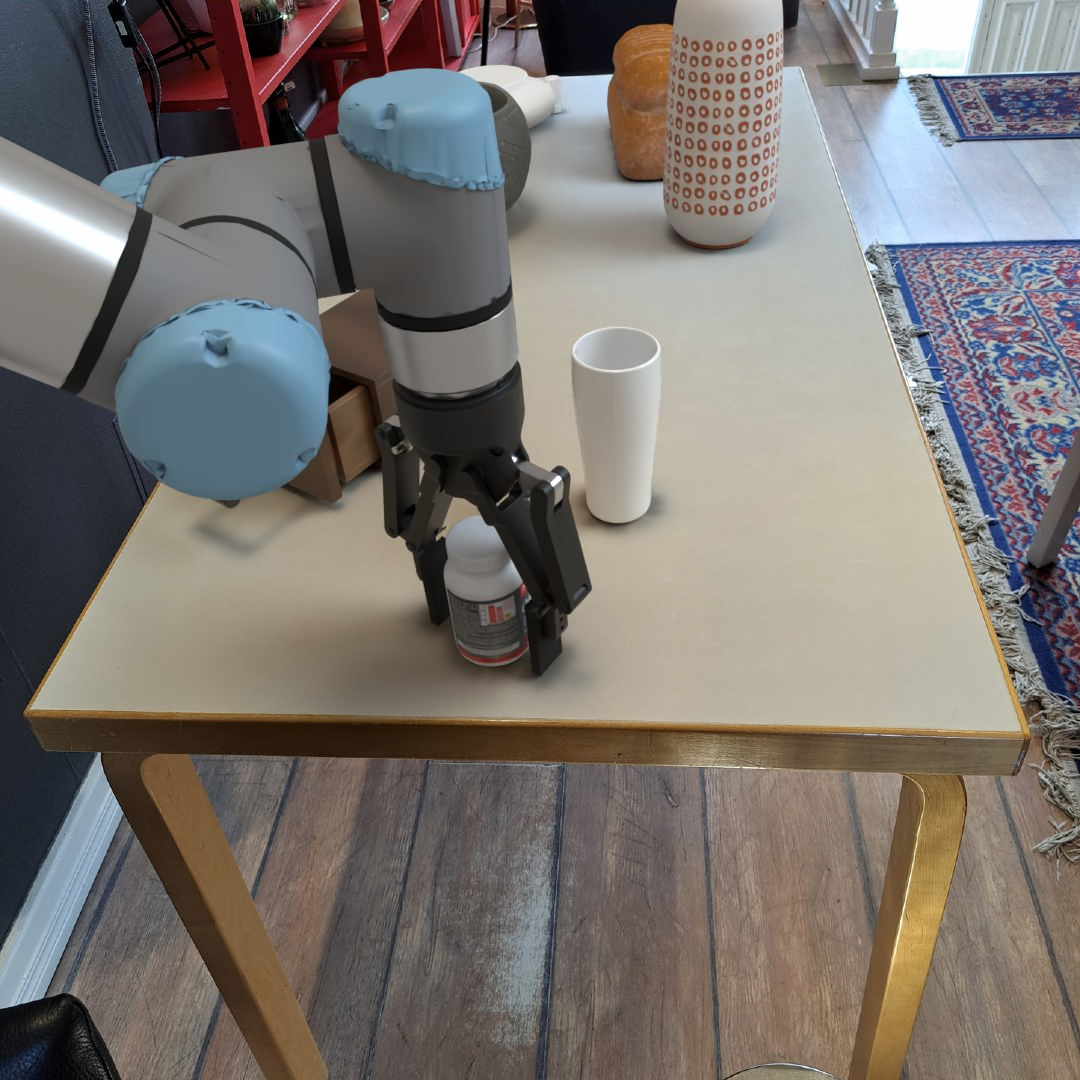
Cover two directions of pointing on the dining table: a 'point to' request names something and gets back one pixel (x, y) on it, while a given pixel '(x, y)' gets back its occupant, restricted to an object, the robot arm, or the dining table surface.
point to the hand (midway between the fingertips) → (495, 636)
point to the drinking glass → (617, 418)
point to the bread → (640, 100)
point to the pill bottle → (484, 595)
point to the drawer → (339, 442)
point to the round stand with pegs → (523, 89)
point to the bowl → (510, 141)
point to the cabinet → (360, 349)
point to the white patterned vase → (723, 119)
